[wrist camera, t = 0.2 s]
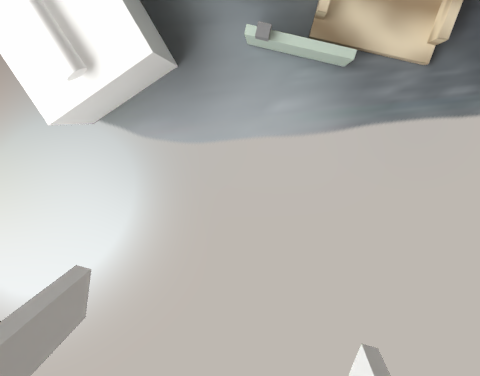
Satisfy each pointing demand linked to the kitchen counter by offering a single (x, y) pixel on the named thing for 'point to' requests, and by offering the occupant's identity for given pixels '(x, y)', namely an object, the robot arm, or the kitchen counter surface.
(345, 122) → the kitchen counter surface
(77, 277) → the robot arm
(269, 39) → the gate
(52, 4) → the tissue box
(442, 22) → the tray
